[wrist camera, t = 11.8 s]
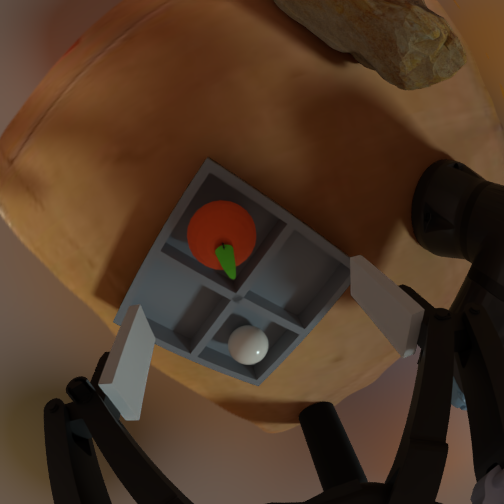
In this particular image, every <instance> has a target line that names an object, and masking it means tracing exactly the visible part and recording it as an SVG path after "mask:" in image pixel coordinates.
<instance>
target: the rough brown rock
mask: <svg viewBox="0 0 504 504" xmlns="http://www.w3.org/2000/svg"><path fill="white" fill-rule="evenodd" d="M274 2H275V4H276V5H277V6H278V7H279V8H280V9H281V10H282V11H284V12H285V13H286V14H287V15H288V16H289V17H291V18H292V19H294V20H296V21H297V22H298V23H300V24H302V25H303V26H305V27H306V28H307V29H308V30H310V31H311V32H312V33H313V34H315V35H316V36H318V37H319V38H320V39H321V40H322V41H324V42H325V43H326V44H327V45H328V46H330V47H331V48H333V49H335V50H337V51H340V52H343V53H347V52H348V53H350V54H352V55H353V57H354V58H355V59H356V60H357V61H358V62H359V63H360V64H362V65H363V66H364V67H366V68H369V69H372V70H376V71H377V73H378V74H379V75H380V76H381V77H382V78H383V79H384V80H386V81H387V82H389V83H390V84H393V85H395V86H397V87H398V88H400V89H403V90H415V89H421V88H425V87H430V86H431V85H433V84H436V83H438V82H441V81H444V80H447V79H449V78H451V77H452V76H454V75H455V74H456V73H457V71H458V70H459V69H460V68H461V67H462V66H463V65H464V64H465V63H466V53H465V50H464V47H463V46H462V44H461V42H460V40H459V39H458V37H457V36H456V35H455V34H454V33H453V31H452V29H451V28H450V26H449V24H448V23H447V21H446V20H445V19H444V18H443V17H441V16H439V15H437V14H436V13H434V12H433V11H431V10H429V9H428V8H427V6H426V4H425V2H424V0H274Z"/></svg>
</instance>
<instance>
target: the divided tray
mask: <svg viewBox="0 0 504 504" xmlns="http://www.w3.org/2000/svg"><path fill="white" fill-rule="evenodd" d="M218 200H224V201H231V202H233V203H236V204H238V205H240V206H241V207H242V208H244V209H245V210H247V212H248V213H249V214H250V216H251V217H252V219H253V221H254V224H255V228H256V243H255V247H254V249H253V251H252V253H251V254H250V256H249V257H248V258H247V259H246V260H245V261H244V262H243V263H241V264H240V265H239V266H236V278H235V279H231V278H230V277H229V276H228V275H227V273H226V272H225V271H224V270H216V269H212V268H209V267H207V266H205V265H203V264H202V263H200V262H199V261H198V260H197V259H196V258H195V257H194V256H193V254H192V252H191V250H190V248H189V245H188V240H187V228H188V225H189V222H190V220H191V218H192V217H193V215H194V214H195V213H196V211H197V210H198V209H200V208H201V207H202V206H203V205H205V204H208V203H210V202H212V201H218ZM350 284H351V276H350V257H349V256H348V255H346V254H345V253H344V252H343V251H341V250H340V249H339V248H337V247H336V246H335V245H333V244H332V243H331V242H329V241H328V240H327V239H325V238H324V237H323V236H321V235H320V234H319V233H317V232H316V231H315V230H313V229H312V228H311V227H309V226H308V225H307V224H305V223H304V222H302V221H301V220H300V219H298V218H297V217H295V216H294V215H293V214H291V213H290V212H289V211H287V210H286V209H284V208H283V207H281V206H280V205H279V204H277V203H276V202H274V201H273V200H272V199H270V198H269V197H267V196H266V195H264V194H263V193H261V192H260V191H259V190H257V189H256V188H254V187H253V186H251V185H250V184H248V183H247V182H245V181H244V180H242V179H241V178H239V177H238V176H236V175H235V174H233V173H232V172H230V171H229V170H227V169H226V168H224V167H223V166H221V165H220V164H218V163H217V162H215V161H213V160H212V159H210V158H209V157H207V158H206V160H205V161H204V163H203V164H202V166H201V167H200V169H199V170H198V172H197V173H196V175H195V176H194V178H193V179H192V181H191V182H190V184H189V185H188V187H187V189H186V190H185V192H184V193H183V195H182V196H181V198H180V200H179V201H178V203H177V204H176V206H175V208H174V209H173V211H172V213H171V214H170V216H169V218H168V219H167V221H166V223H165V224H164V226H163V228H162V229H161V231H160V233H159V235H158V236H157V238H156V240H155V241H154V243H153V245H152V247H151V249H150V250H149V252H148V254H147V256H146V258H145V259H144V261H143V263H142V265H141V267H140V269H139V271H138V272H137V274H136V276H135V278H134V280H133V282H132V284H131V286H130V288H129V290H128V292H127V294H126V296H125V298H124V300H123V302H122V304H121V306H120V308H119V310H118V312H117V314H116V317H115V319H114V321H113V322H114V323H116V324H117V325H119V326H121V324H122V322H123V320H124V317H125V315H126V313H127V310H128V308H129V306H133V305H138V304H140V305H141V307H142V309H143V312H144V314H145V316H146V319H147V321H148V323H149V326H150V328H151V330H152V332H153V334H154V337H155V344H156V345H158V346H161V347H163V348H165V349H167V350H169V351H171V352H173V353H176V354H178V355H180V356H182V357H185V358H187V359H189V360H191V361H194V362H196V363H199V364H201V365H203V366H206V367H208V368H211V369H213V370H216V371H218V372H221V373H223V374H226V375H229V376H231V377H234V378H237V379H239V380H242V381H245V382H248V383H251V384H254V385H257V386H259V385H260V384H261V383H262V382H263V381H264V380H265V379H266V378H267V377H268V376H269V375H270V374H271V373H272V372H273V371H274V370H275V369H276V368H277V367H278V366H279V365H280V364H281V363H282V362H283V361H284V360H285V359H286V358H287V357H288V355H289V354H290V353H291V352H292V351H293V350H294V349H295V348H296V347H297V346H298V345H299V344H300V343H301V341H302V340H303V339H304V338H305V337H306V336H307V335H308V334H309V333H310V332H311V330H312V329H313V328H314V327H315V326H316V325H317V324H318V322H319V321H320V320H321V319H322V318H323V317H324V316H325V314H326V313H327V312H328V311H329V310H330V308H331V307H332V306H333V305H334V304H335V303H336V301H337V300H338V299H339V298H340V296H341V295H342V294H343V293H344V292H345V290H346V289H347V288H348V287H349V285H350ZM244 325H252V326H256V327H258V328H260V329H261V330H262V331H263V332H264V333H265V335H266V336H267V339H268V344H269V346H268V351H267V354H266V355H265V357H264V358H263V359H262V360H261V361H259V362H258V363H255V364H251V365H245V364H241V363H239V362H237V361H236V360H234V359H233V358H232V356H231V355H230V353H229V350H228V340H229V337H230V335H231V333H232V332H233V331H234V330H235V329H237V328H238V327H241V326H244Z"/></svg>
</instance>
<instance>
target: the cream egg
mask: <svg viewBox="0 0 504 504" xmlns="http://www.w3.org/2000/svg"><path fill="white" fill-rule="evenodd" d="M268 346H269V344H268V339H267V336H266V335H265V333H264V332H263V331H262V330H261V329H260V328H258V327H256V326H252V325H244V326H241V327H238V328H237V329H235V330H234V331H233V332H232V333H231V335H230V337H229V340H228V350H229V353H230V355H231V356H232V358H233V359H234V360H236V361H237V362H239V363H241V364H245V365H251V364H255V363H258V362H259V361H261V360H262V359H263V358H264V357H265V355H266V354H267V351H268Z"/></svg>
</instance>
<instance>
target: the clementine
mask: <svg viewBox="0 0 504 504" xmlns="http://www.w3.org/2000/svg"><path fill="white" fill-rule="evenodd" d="M187 240H188V245H189V248H190V250H191V252H192V254H193V256H194V257H195V258H196V259H197V260H198V261H199V262H200V263H202V264H203V265H205V266H207V267H209V268H212V269H216V270H224V271H225V272H226V273H227V275H228V276H229V277H230V278H231V279H235V278H236V266H239V265H240V264H241V263H243V262H244V261H245V260H246V259H247V258H248V257H249V256H250V254H251V253H252V251H253V249H254V247H255V243H256V228H255V224H254V221H253V219H252V217H251V216H250V214H249V213H248V212H247V210H245V209H244V208H242V207H241V206H240V205H238V204H236V203H233V202H231V201H224V200H218V201H212V202H210V203H208V204H205V205H203V206H202V207H201V208H200V209H198V210H197V211H196V213H195V214H194V215H193V217H192V218H191V220H190V222H189V225H188V228H187Z"/></svg>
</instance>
